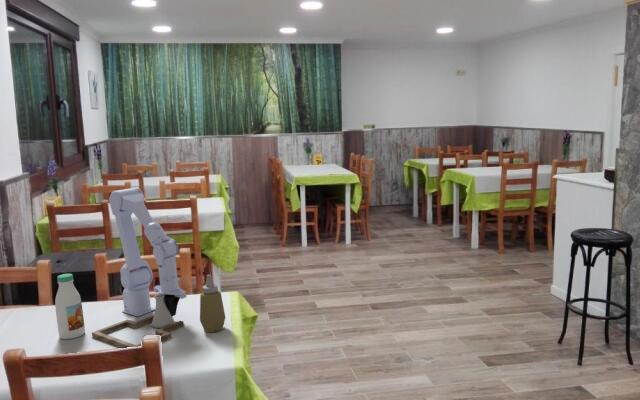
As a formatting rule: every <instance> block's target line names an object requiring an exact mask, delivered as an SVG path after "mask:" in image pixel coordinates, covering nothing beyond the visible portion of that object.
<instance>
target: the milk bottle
mask: <svg viewBox="0 0 640 400" xmlns="http://www.w3.org/2000/svg"><path fill="white" fill-rule="evenodd" d="M73 275H74V274H73V273H63V274H60V275H57V279H56V280H57V284H58V289H57V292H56V296H55V302H54V303H55V304H54V307H55V315H56V323H57V330H58V337H59V338H60V339H62V340H72V339H76V338H79V337H81V336H83V335H84V334H85V333H86V329H85V320H84V312H83V304H82V299H81V295H80V293H79V291H78V290H77V288H76V287H75V285H74V276H73Z"/></svg>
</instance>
